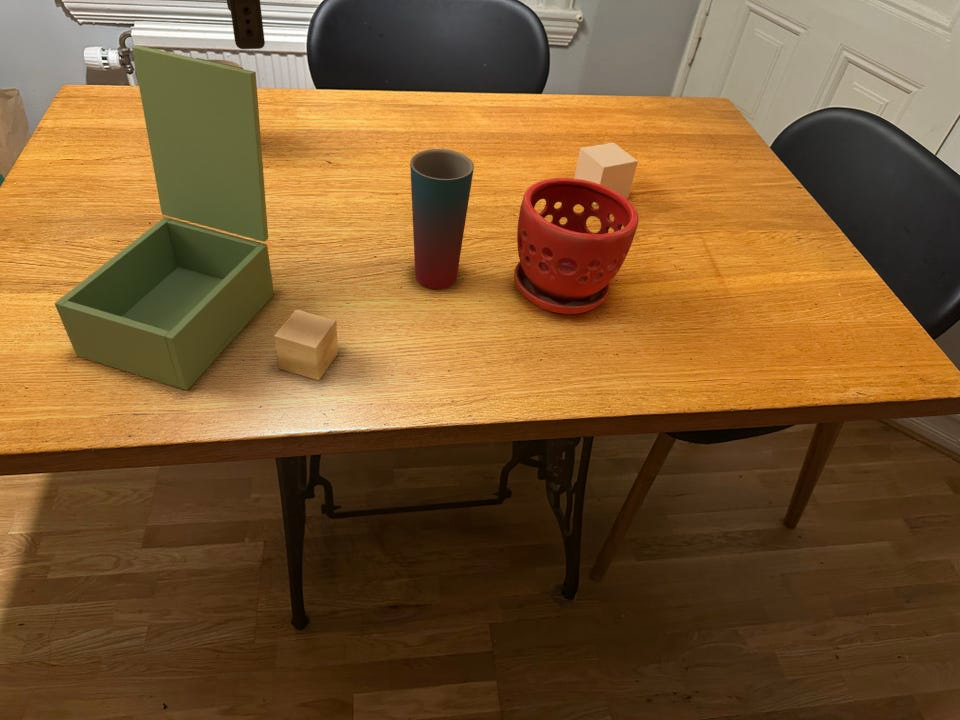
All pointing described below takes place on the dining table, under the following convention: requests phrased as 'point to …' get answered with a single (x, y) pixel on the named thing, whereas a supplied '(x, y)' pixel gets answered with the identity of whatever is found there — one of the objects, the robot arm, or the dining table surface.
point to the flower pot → (571, 244)
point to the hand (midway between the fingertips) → (245, 28)
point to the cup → (439, 214)
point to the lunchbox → (168, 302)
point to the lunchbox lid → (204, 140)
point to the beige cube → (607, 167)
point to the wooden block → (306, 344)
